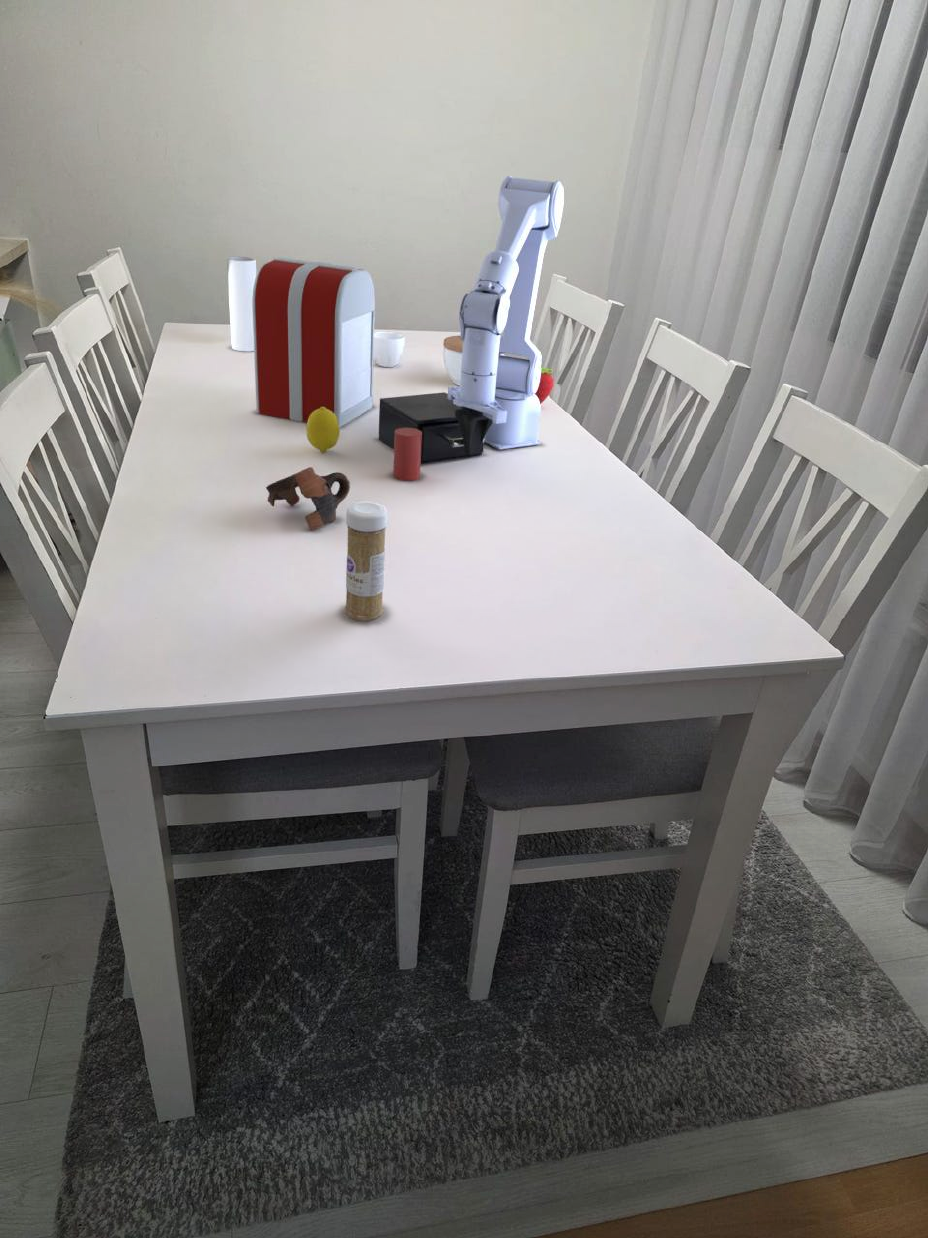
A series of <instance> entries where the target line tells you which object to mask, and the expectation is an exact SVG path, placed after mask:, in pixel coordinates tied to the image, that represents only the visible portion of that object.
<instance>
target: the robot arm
mask: <svg viewBox="0 0 928 1238" xmlns="http://www.w3.org/2000/svg"><path fill="white" fill-rule="evenodd" d="M564 197H565V191H564V186H563V185H562V182H561V181H559V180H555V181H550V180H542V179H541V180H540V179H531V178H530V179H529V178H521V177H513V176H512V175H508V176H506V177H505V178H504V179H503V180H502V182H501V184H500V188H499V192H498V199H497V200H498V201H497V202H498V211H499V215H500V221H501V226H500V230H499V232H498V236H497V240H496V245H495V249H494V251H490V252H489V253H487V254H486V255H485V256H484V259H483V262H482V264H481V266H480V269H479V272H478V274H477V277H476V280H475V283H474V285H473V287H472V290H470V292H469V293H465V294H464V295H463V297H462V299H461V303H460V307H459V312H458V313H459V315H458V320H459V326H460V335H459V336H460V337H461V340H462V341H463V351H462V365H461V379H460V386H450V387H448V388H447V394H448V399H449V400H453V404H455V405H457V406H463V408H462V409H459V410H456V411H455V416H456V417H457V420H458V422H459V425H460V428H461V431H462V436H463V442H464V448H465V453H466V454H468V455H473V454H479V451H480V449H481V446H482V443H483V440H484V443H485V444H488V445H490V446H491V447H493V448H495V449H497V450H508V449H515V448H522V447H527V446H535V445H536V446H537V445H540V441H539V440H538V439H539V430H540V422H541V413H542V407H541V404H540V401H539V399H538V397H537V396H536V395H535V393H536V391H537V389H538V386H539V383H540V377H541V365H542V359H543V357H542V353H541V351H540V350H539V349H538V347H537V346H536V345H535V344H534V343H533V342H532V341H531V339H530V337H531V333H532V326H533V319H534V313H535V307H536V302H537V297H538V290H539V285H540V279H541V273H542V267H543V262H544V261H543V260H544V256H545V255H544V254H545V251H546V247H547V245H548V242H549V241H550V240H552V239H555V238H557V237H558V232H559V230H560V227H561V221H562V216H563V210H564V203H565V198H564ZM501 334H502V337H501ZM502 354H510V355H516V356H521V357H526V358H527V359H526V358H520V357H515V356H514V357H513V356H507V355H502Z"/></svg>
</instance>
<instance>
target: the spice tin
mask: <svg viewBox="0 0 928 1238" xmlns="http://www.w3.org/2000/svg"><path fill="white" fill-rule="evenodd" d="M421 446H422V432H421V431H420V430H418V429H414V428H399V429H396V430H395V438H394V450H393V467H392V476H393V478H395V479H397V480H398V481H399V480H400V481H407V482H408V481H409V482H411V481H417V480H419V479H420V477H421V465H422V464H421Z"/></svg>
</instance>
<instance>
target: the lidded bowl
mask: <svg viewBox="0 0 928 1238" xmlns="http://www.w3.org/2000/svg"><path fill="white" fill-rule="evenodd" d="M460 336H461V335H452V336H447V337H445V338H443V364H444V369H445V371H446V373H447V375H448V376H449V378H450V379H451V380H452V383H453V384H454V385H457V386H458V387H460V379H461V365H462V351H463V341H462V340H461V337H460Z"/></svg>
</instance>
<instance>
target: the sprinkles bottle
mask: <svg viewBox="0 0 928 1238" xmlns="http://www.w3.org/2000/svg"><path fill="white" fill-rule="evenodd" d="M345 523H346V526H347V550H346V551H347V555H346V567H345V568H346V569H345V570H346V571H345V572H346V573H345V574H346V576H345V589H346V596H345V606H344V611H345V614H346V615H347V616H348V618H351V619H353V620H355V621H360V622H364V621H365V622H366V621H367V622H368V621H372V620H376V619H378V618H380V617H381V616H382V615H383V613H384V608H383V595H384V593H383V591H384V587H385V586H384V585H385V584H384V583H385V561H386V560H385V559H386V548H385V547H386V545H385V543H386V542H385V541H386V530H387V529H386V528H387V525H388V509H387V508H386V507H385V506H384V505H383V504H380V503H377V502H373V501H358V502H357V501H356V502H353V503H351V504H350V505H348V506H347V508H346V513H345Z"/></svg>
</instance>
